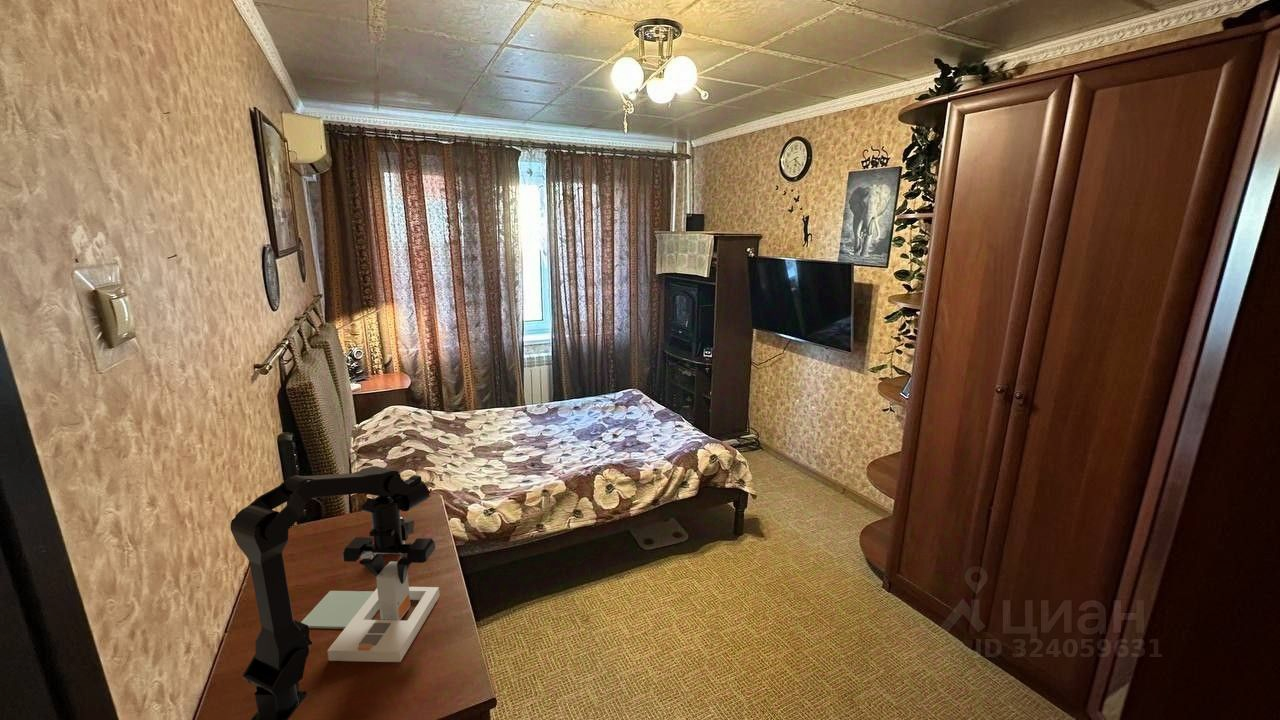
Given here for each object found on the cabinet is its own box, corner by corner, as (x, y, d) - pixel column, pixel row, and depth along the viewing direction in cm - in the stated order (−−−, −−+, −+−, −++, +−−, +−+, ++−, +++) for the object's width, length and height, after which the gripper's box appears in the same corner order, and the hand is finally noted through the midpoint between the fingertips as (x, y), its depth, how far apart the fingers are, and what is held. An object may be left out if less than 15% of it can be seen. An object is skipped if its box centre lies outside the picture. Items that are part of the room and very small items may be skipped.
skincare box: (398, 624, 118) (393, 577, 115) (380, 623, 118) (374, 577, 115) (411, 606, 124) (407, 561, 121) (394, 605, 124) (389, 560, 121)
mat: (351, 629, 116) (350, 626, 116) (298, 628, 116) (297, 625, 116) (378, 593, 128) (378, 591, 128) (330, 592, 128) (330, 590, 128)
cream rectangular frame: (400, 662, 107) (398, 649, 106) (328, 660, 107) (327, 647, 107) (439, 596, 127) (438, 585, 126) (379, 595, 127) (378, 584, 127)
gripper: (441, 504, 123) (447, 562, 127) (364, 502, 124) (371, 560, 127) (421, 529, 112) (427, 592, 116) (337, 527, 113) (345, 590, 116)
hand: (393, 582), depth 119 cm, fingers open, 4 cm apart
